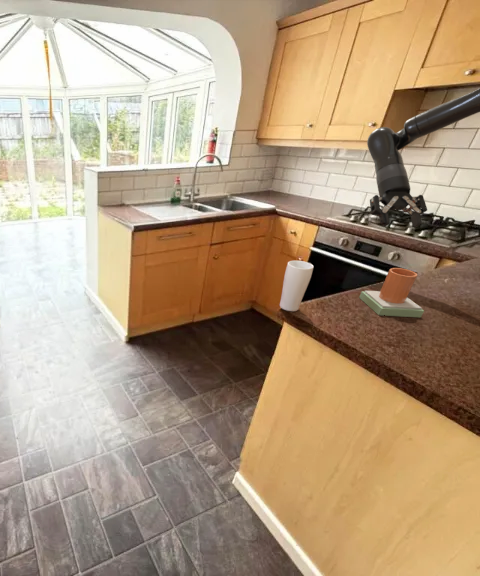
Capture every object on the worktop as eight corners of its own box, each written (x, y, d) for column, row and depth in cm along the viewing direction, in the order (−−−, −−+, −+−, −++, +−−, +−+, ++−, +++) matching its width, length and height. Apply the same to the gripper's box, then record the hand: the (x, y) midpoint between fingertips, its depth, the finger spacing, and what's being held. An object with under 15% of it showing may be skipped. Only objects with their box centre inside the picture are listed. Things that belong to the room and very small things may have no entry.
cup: (396, 294, 101) (408, 268, 97) (409, 304, 96) (422, 277, 92) (374, 293, 102) (384, 267, 98) (386, 303, 97) (398, 276, 93)
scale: (397, 299, 104) (401, 291, 103) (421, 317, 95) (426, 309, 93) (358, 297, 106) (362, 289, 105) (378, 315, 96) (382, 306, 95)
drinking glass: (278, 300, 106) (289, 258, 99) (302, 306, 103) (315, 262, 96) (274, 309, 101) (286, 266, 94) (299, 315, 98) (313, 271, 91)
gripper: (375, 175, 104) (384, 219, 99) (426, 174, 102) (437, 219, 97) (361, 188, 111) (368, 230, 106) (408, 188, 109) (418, 231, 104)
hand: (401, 225), depth 102 cm, fingers open, 8 cm apart
